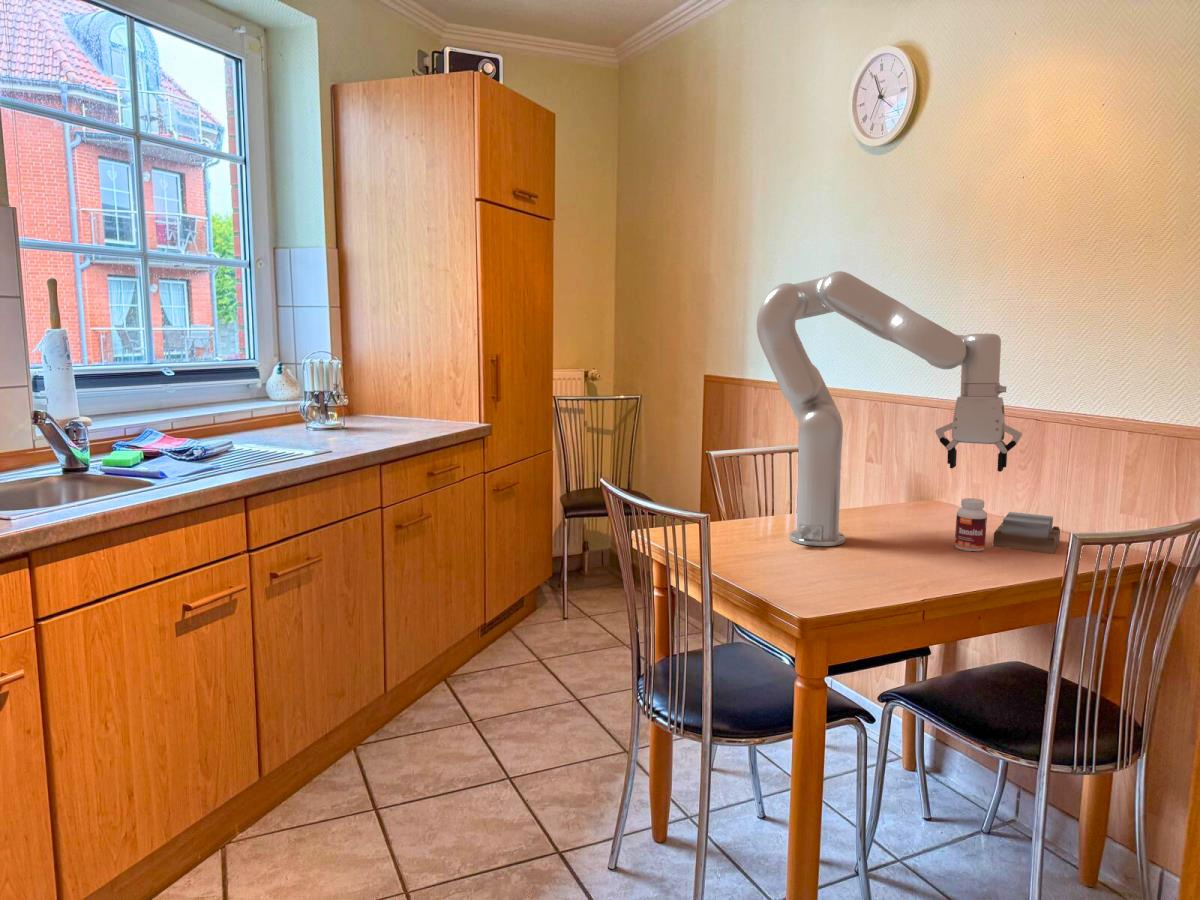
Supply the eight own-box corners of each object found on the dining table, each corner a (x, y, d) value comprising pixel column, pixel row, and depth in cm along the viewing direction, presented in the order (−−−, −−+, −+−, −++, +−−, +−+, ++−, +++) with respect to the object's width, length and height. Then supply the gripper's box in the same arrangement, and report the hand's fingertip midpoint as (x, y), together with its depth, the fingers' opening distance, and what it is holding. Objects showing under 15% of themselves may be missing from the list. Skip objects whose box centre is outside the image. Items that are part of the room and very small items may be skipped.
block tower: (1053, 553, 177) (1055, 526, 176) (993, 545, 184) (994, 519, 183) (1059, 541, 187) (1061, 516, 186) (1001, 534, 194) (1003, 509, 193)
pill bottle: (954, 550, 180) (957, 502, 179) (953, 543, 186) (956, 496, 184) (985, 553, 178) (988, 504, 176) (984, 546, 184) (987, 498, 182)
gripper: (1026, 390, 175) (1022, 469, 177) (941, 389, 185) (938, 463, 187) (1021, 393, 169) (1017, 474, 171) (933, 391, 179) (930, 468, 181)
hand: (976, 468), depth 179 cm, fingers open, 9 cm apart
